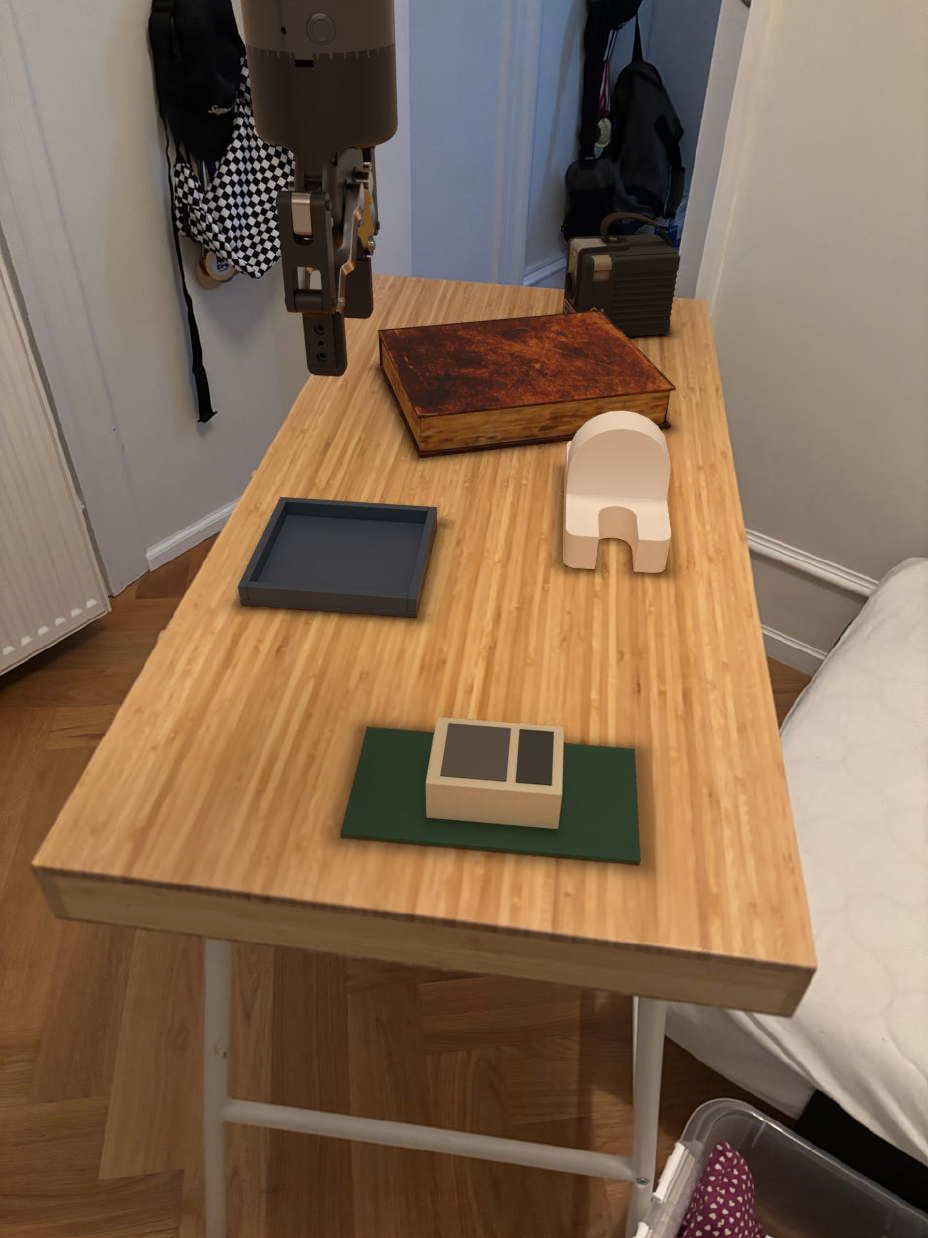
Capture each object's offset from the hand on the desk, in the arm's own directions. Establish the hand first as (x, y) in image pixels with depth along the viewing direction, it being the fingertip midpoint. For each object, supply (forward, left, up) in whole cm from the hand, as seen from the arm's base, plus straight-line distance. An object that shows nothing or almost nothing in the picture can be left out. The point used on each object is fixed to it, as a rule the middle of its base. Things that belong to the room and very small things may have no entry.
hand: (342, 343), depth 57 cm
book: (+9, +52, -28) cm, 60 cm away
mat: (+11, -10, -28) cm, 32 cm away
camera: (+21, +76, -28) cm, 84 cm away
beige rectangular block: (+11, -10, -28) cm, 32 cm away
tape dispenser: (+20, +26, -28) cm, 43 cm away
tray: (-5, +16, -28) cm, 32 cm away
